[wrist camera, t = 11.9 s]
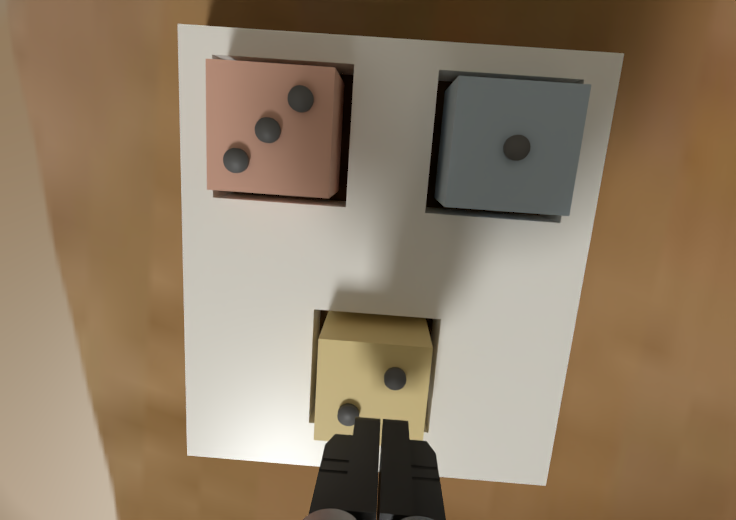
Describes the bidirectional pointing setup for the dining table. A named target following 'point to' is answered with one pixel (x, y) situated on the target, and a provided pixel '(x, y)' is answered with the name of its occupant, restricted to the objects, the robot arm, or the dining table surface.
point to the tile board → (383, 260)
